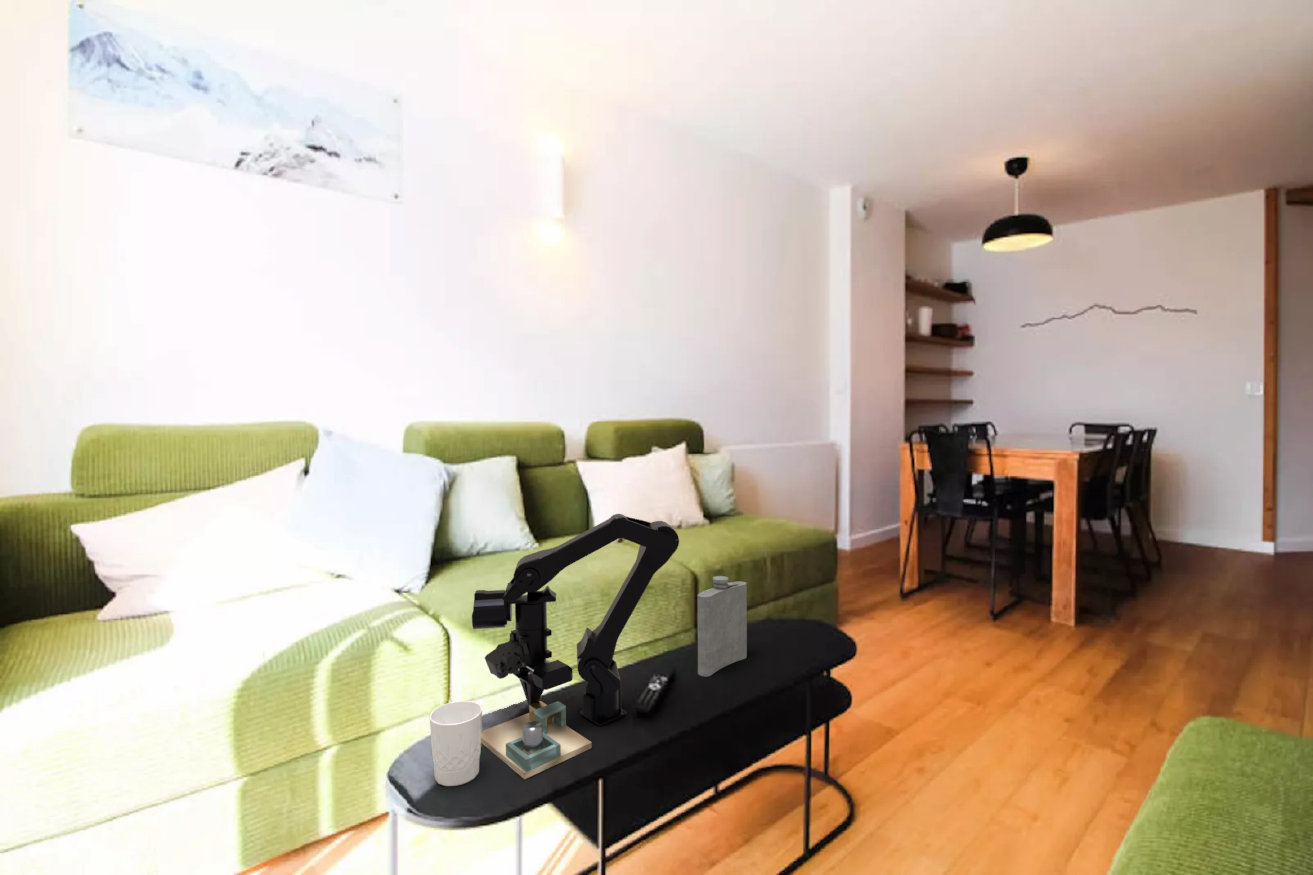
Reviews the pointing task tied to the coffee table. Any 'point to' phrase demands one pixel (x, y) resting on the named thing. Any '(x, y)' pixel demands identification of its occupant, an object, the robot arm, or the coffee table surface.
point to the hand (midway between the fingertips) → (532, 707)
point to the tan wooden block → (537, 706)
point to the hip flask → (722, 625)
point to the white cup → (456, 742)
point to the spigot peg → (532, 737)
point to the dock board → (556, 741)
